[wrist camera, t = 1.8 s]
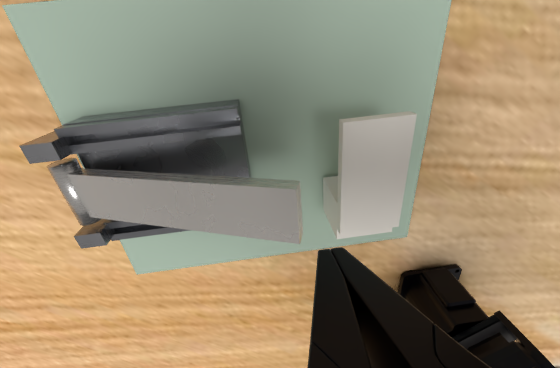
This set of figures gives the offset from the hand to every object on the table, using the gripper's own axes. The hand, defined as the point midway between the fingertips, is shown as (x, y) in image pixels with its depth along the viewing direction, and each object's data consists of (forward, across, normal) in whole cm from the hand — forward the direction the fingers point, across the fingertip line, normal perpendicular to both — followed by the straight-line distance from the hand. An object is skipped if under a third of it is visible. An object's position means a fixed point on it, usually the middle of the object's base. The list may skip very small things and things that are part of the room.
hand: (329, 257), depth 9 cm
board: (+12, +2, 0) cm, 13 cm away
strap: (+7, +7, +1) cm, 10 cm away
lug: (+11, -5, +2) cm, 12 cm away
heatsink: (+11, +8, +1) cm, 14 cm away
